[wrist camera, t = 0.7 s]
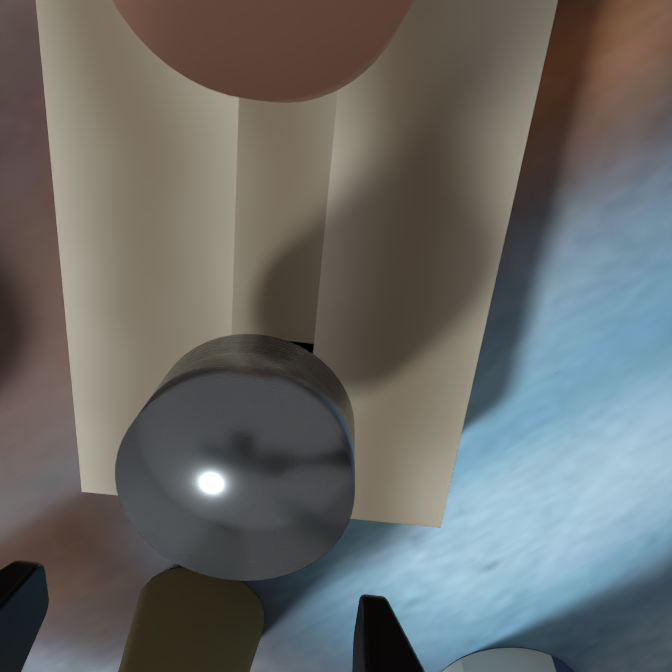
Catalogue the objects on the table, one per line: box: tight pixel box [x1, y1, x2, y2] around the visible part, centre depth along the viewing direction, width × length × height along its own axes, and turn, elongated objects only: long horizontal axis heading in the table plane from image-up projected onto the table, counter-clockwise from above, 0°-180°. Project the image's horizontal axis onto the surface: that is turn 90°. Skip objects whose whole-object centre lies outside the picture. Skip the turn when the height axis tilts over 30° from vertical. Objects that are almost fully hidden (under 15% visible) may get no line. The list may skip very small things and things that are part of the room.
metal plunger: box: [115, 334, 355, 581], centre depth 14 cm, size 5×5×6 cm
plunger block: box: [36, 0, 558, 528], centre depth 16 cm, size 12×20×4 cm, turn 174°
